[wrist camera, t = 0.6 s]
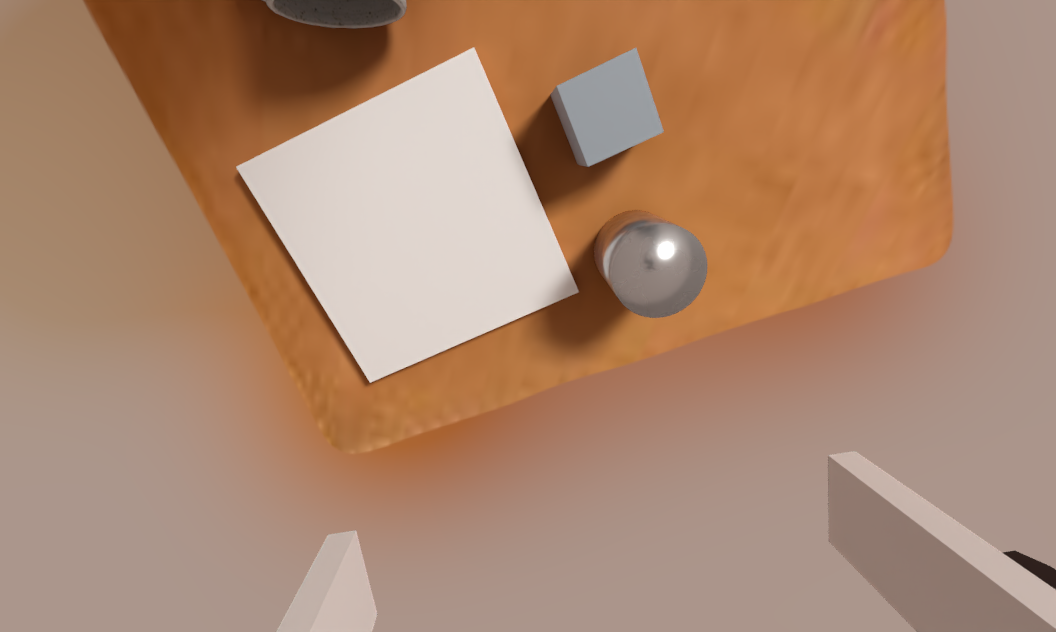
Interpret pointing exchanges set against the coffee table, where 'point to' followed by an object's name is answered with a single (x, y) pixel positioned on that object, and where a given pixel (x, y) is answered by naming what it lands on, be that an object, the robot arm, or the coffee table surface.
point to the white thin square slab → (414, 218)
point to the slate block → (607, 109)
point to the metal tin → (650, 263)
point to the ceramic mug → (340, 12)
